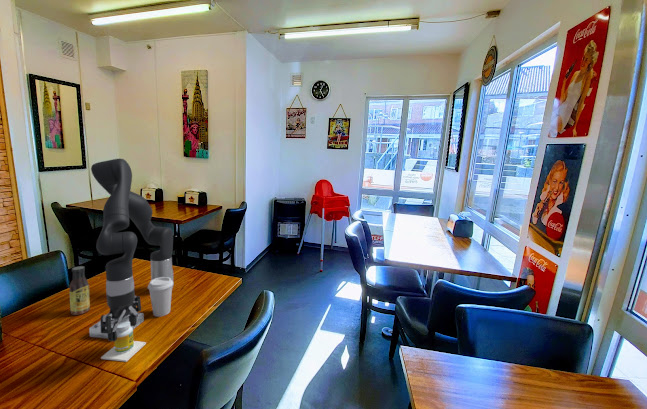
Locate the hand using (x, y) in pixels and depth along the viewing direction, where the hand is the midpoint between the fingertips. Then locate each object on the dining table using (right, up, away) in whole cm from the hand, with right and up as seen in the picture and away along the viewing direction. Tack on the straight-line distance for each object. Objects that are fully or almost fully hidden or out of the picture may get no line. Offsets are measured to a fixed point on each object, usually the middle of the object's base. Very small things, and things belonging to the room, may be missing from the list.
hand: (123, 332), depth 92 cm
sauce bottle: (-35, -2, +22) cm, 41 cm away
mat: (0, -7, +1) cm, 7 cm away
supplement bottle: (0, -7, +1) cm, 7 cm away
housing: (-12, -4, +13) cm, 18 cm away
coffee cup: (-2, -3, +25) cm, 25 cm away
